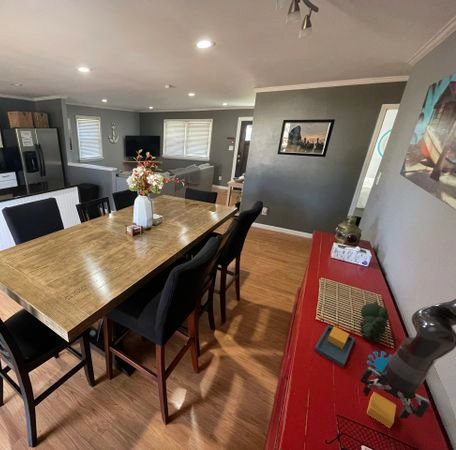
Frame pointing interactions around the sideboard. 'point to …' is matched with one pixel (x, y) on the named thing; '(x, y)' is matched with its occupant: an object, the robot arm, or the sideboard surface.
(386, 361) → the blue virus toy
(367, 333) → the green broccoli
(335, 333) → the pad
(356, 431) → the sideboard surface
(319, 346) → the backing tray
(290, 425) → the sideboard surface
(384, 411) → the pad
